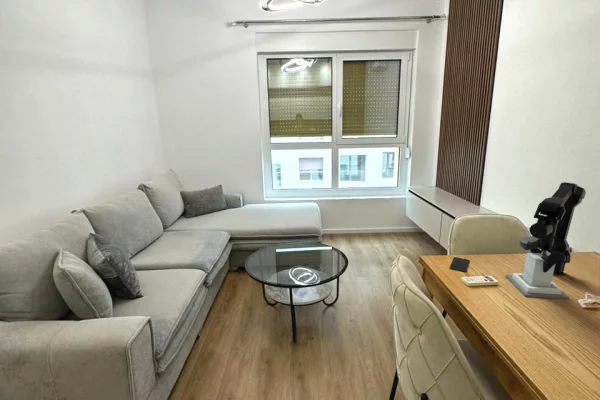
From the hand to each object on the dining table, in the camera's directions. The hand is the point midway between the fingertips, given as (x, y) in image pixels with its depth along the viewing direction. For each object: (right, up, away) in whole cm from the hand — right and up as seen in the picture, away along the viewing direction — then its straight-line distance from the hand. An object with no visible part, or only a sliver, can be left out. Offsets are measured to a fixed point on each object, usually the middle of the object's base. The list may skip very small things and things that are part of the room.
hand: (539, 267), depth 130 cm
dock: (0, -9, +2) cm, 9 cm away
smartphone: (-21, -4, +23) cm, 31 cm away
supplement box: (0, -8, +2) cm, 8 cm away
